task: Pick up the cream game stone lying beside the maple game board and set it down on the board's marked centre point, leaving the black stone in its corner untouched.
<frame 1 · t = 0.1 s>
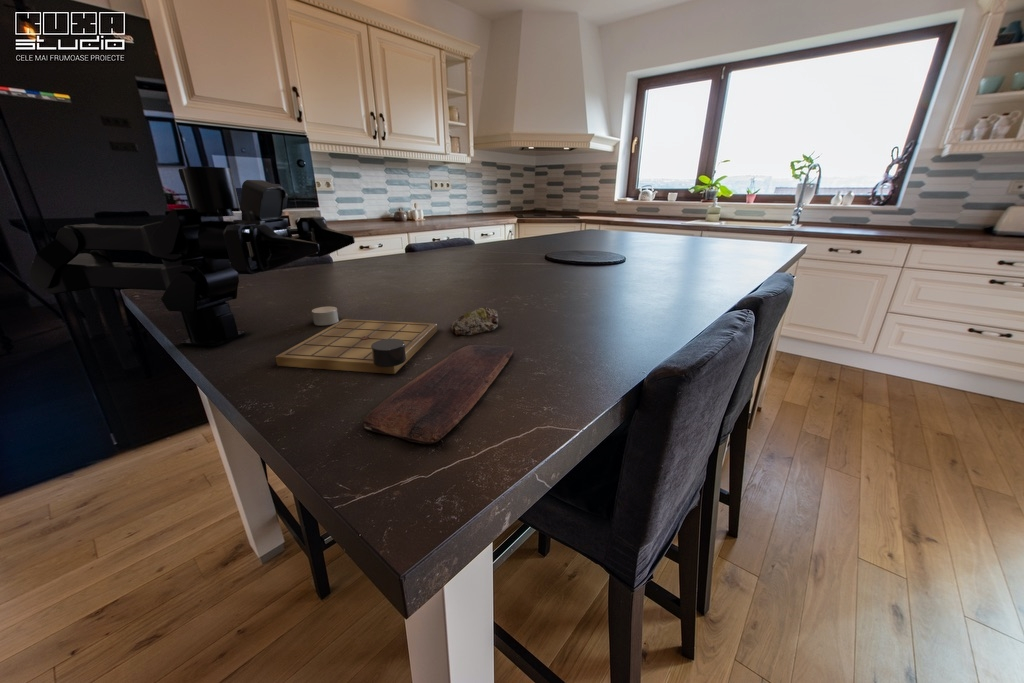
hand: (337, 243, 58), 17 cm above the table, tool horizontal, fingers open, 9 cm apart
black stone: (389, 360, 55), point 2 cm above the table, touching game board
game board: (366, 346, 64), on the table
mineral rock: (473, 328, 73), on the table
wooden tablet: (456, 386, 52), on the table
cream stone: (326, 322, 76), on the table
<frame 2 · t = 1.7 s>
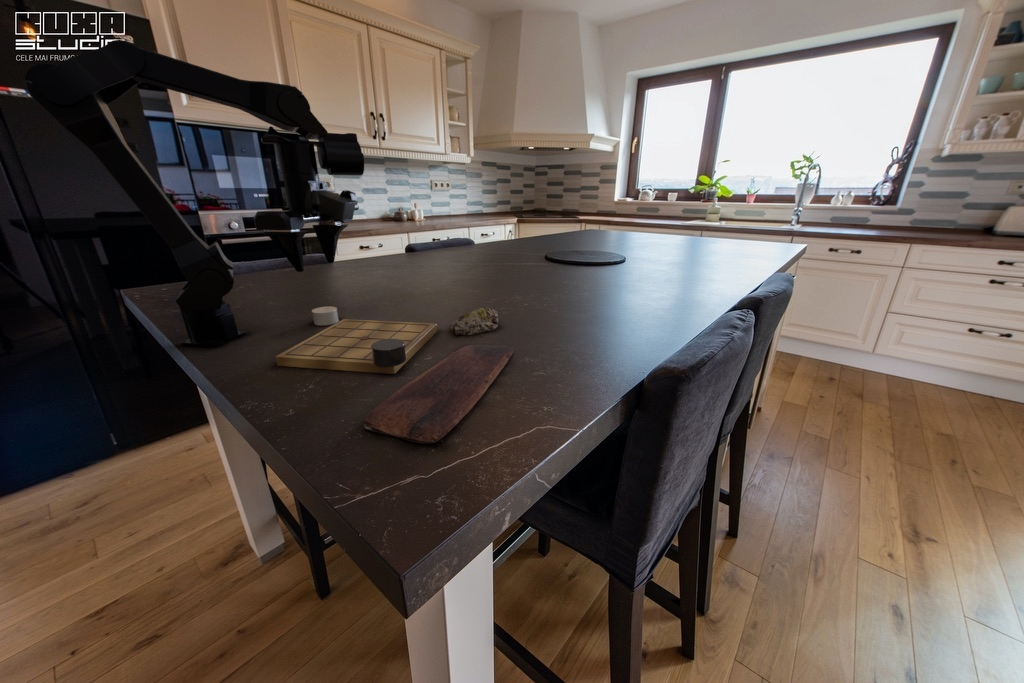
hand: (316, 266, 72), 11 cm above the table, tool pointing down, fingers open, 9 cm apart
nothing on the table moved.
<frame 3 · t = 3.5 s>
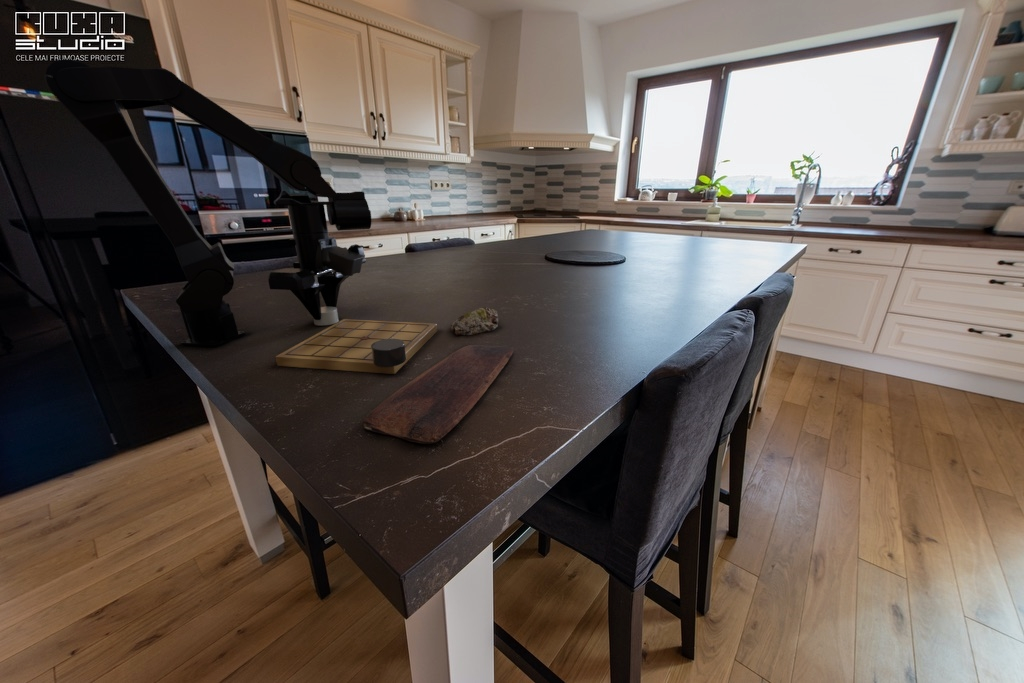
hand: (325, 316, 76), 1 cm above the table, tool pointing down, fingers closed on cream stone, 4 cm apart
cream stone: (326, 322, 76), on the table, touching gripper
everything else where it was.
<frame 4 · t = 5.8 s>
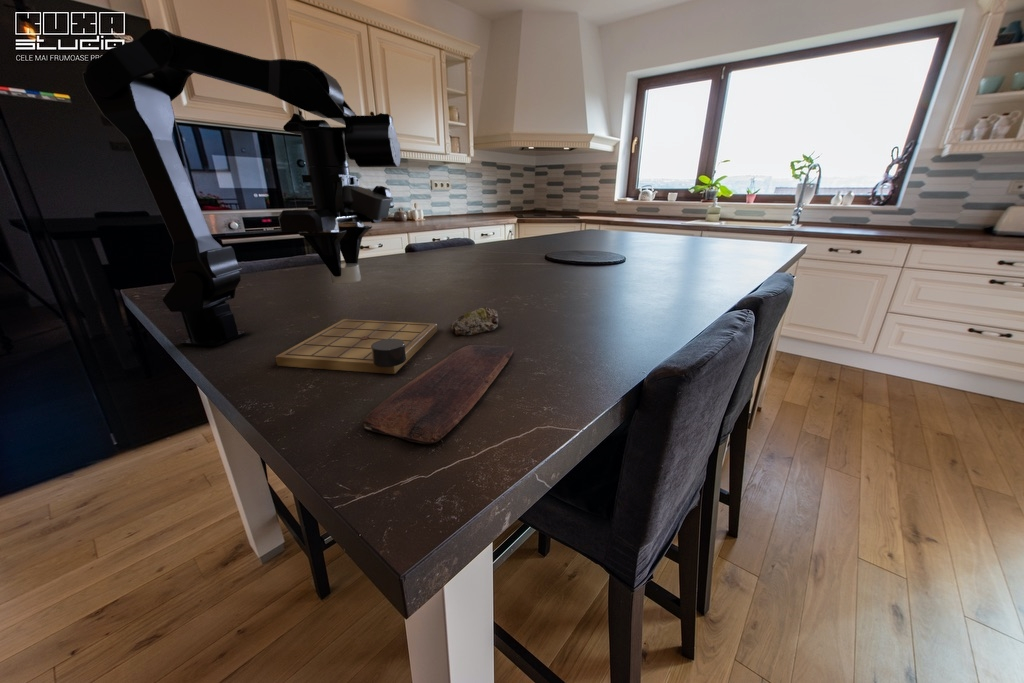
hand: (345, 273, 64), 11 cm above the table, tool pointing down, fingers closed on cream stone, 4 cm apart
cream stone: (346, 280, 64), point 10 cm above the table, touching gripper
everything else where it was.
when the fingers open (3 cm above the table, at t = 8.5 s): cream stone stays where it is, resting on game board.
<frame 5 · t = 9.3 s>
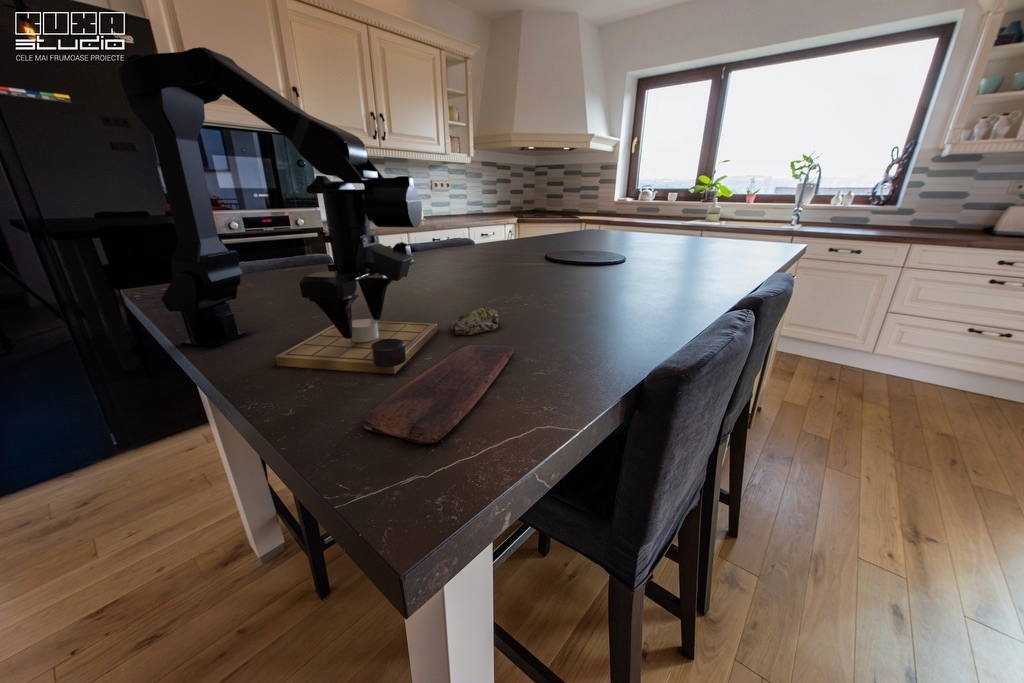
hand: (363, 328, 63), 3 cm above the table, tool pointing down, fingers open, 9 cm apart
cream stone: (364, 337, 64), point 2 cm above the table, touching game board
everything else where it was.
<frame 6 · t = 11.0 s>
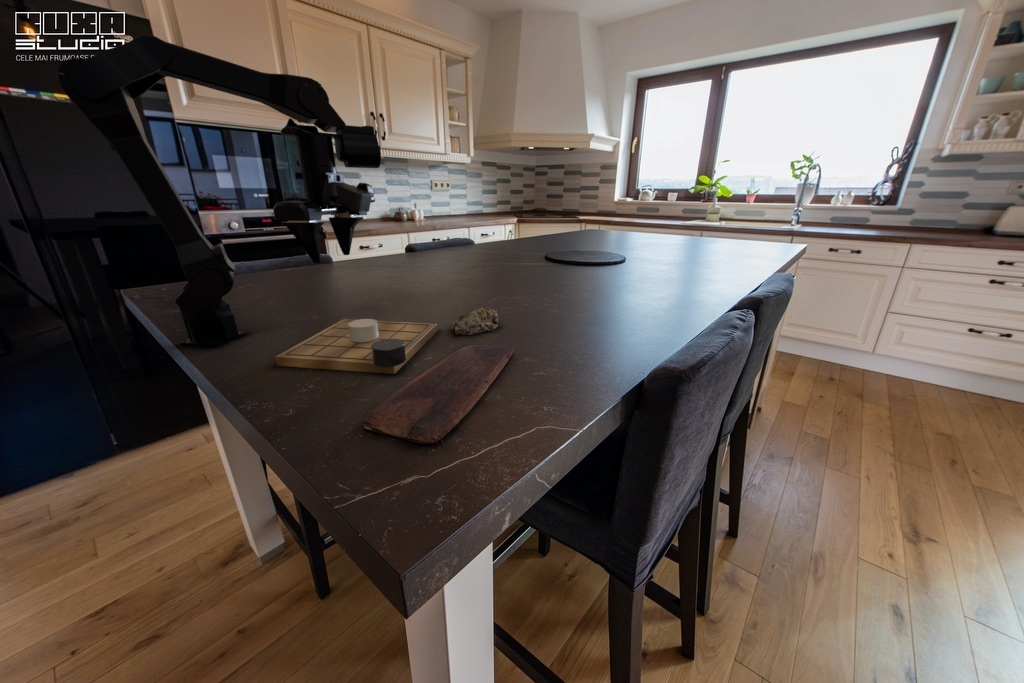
hand: (332, 258, 73), 12 cm above the table, tool pointing down, fingers open, 9 cm apart
nothing on the table moved.
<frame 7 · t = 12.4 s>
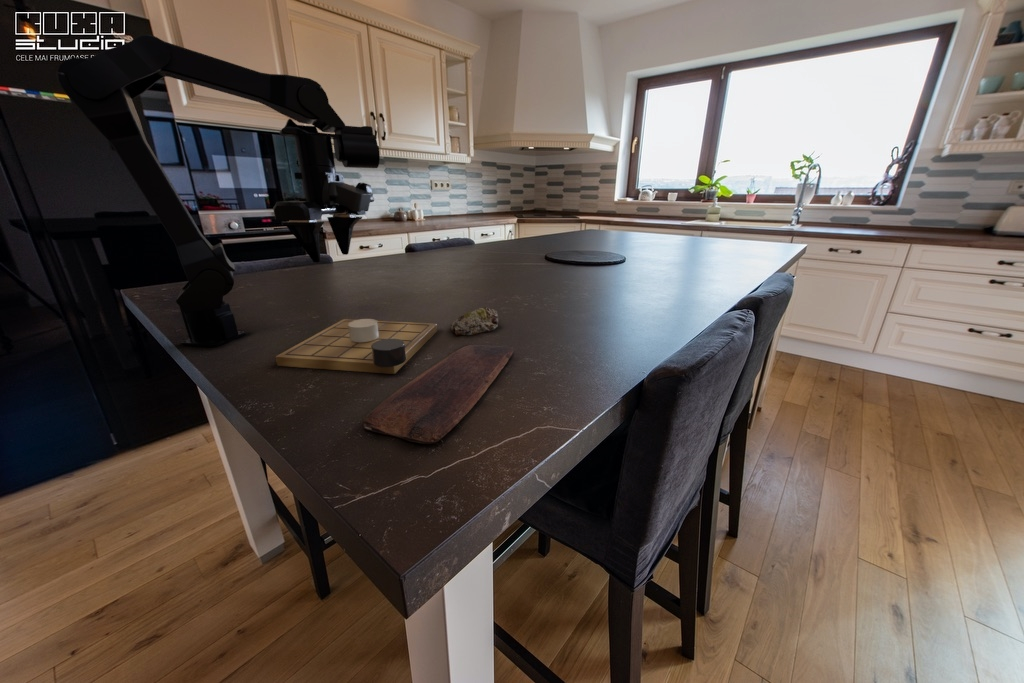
hand: (332, 258, 73), 12 cm above the table, tool pointing down, fingers open, 9 cm apart
nothing on the table moved.
at the end: cream stone 0.0 cm off-centre on the game board, point 1.6 cm above the game board's base; the gripper is holding nothing; black stone moved 0.1 cm from its start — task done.
